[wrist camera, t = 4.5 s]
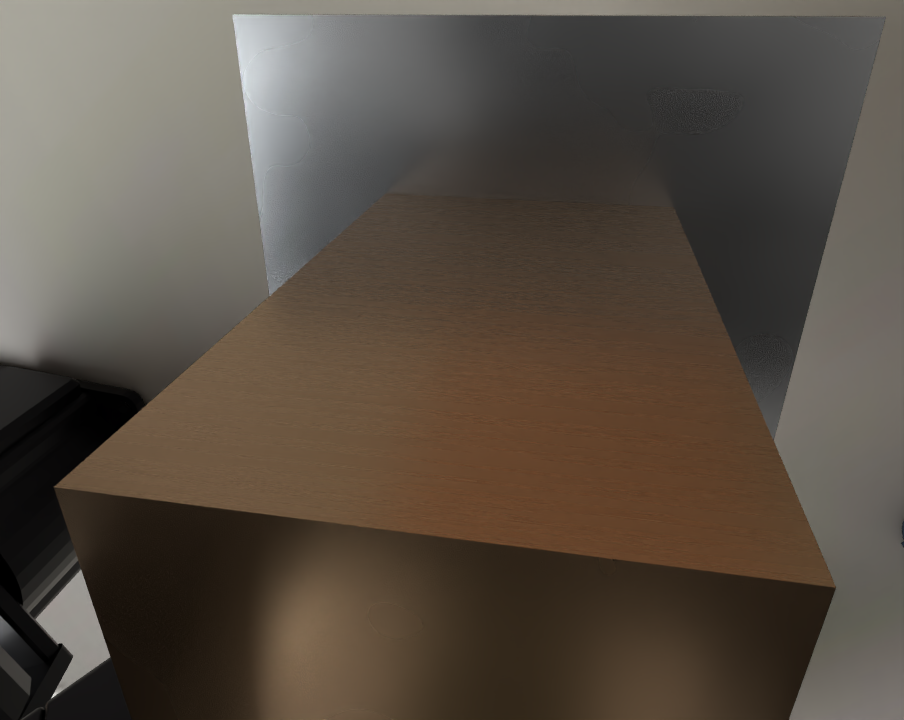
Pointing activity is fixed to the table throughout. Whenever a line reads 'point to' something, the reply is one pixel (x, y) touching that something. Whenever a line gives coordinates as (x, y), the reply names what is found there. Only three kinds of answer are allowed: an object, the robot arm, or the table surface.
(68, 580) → the robot arm
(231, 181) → the table surface
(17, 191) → the table surface
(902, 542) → the vaping device
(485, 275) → the block on grey plate
